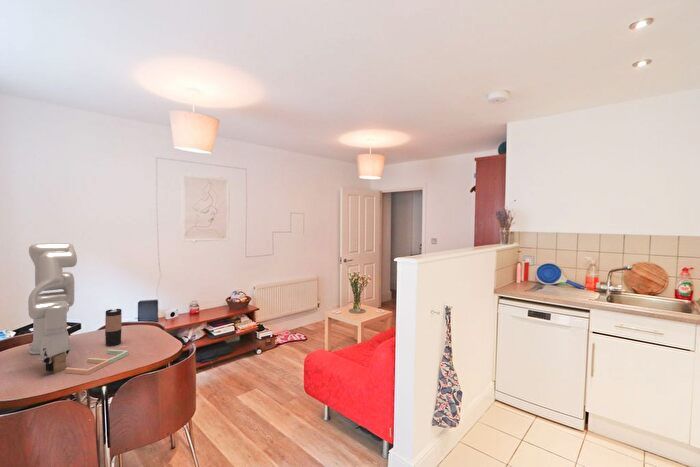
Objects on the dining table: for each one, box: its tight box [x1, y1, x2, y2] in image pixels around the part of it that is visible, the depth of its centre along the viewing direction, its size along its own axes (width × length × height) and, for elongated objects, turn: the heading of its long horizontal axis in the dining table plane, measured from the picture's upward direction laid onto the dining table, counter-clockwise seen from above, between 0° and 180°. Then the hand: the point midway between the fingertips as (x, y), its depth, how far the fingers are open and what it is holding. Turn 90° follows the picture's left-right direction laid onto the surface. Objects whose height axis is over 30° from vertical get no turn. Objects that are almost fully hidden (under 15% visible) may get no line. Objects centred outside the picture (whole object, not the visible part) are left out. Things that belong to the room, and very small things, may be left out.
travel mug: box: [104, 308, 123, 347], centre depth 183 cm, size 8×8×20 cm
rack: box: [64, 348, 130, 376], centre depth 159 cm, size 12×24×2 cm, turn 174°
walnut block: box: [45, 353, 67, 375], centre depth 150 cm, size 5×5×8 cm
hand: (55, 367), depth 150 cm, fingers closed on walnut block, 5 cm apart
